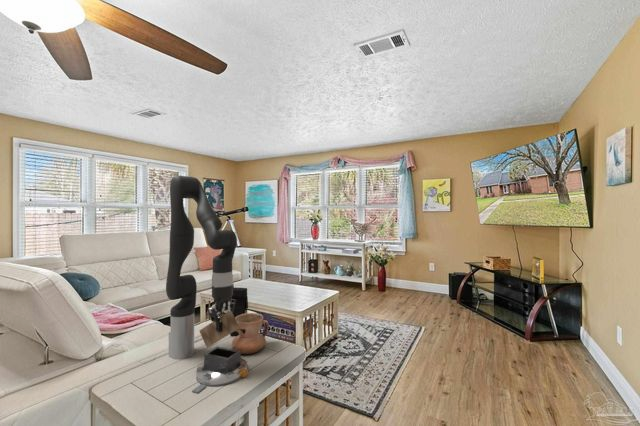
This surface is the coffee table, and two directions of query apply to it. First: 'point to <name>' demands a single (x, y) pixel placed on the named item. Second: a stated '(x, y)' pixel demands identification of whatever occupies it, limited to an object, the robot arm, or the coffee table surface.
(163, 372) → the coffee table surface
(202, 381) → the grey disc
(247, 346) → the ceramic jug
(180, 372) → the coffee table surface
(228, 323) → the brown wooden block
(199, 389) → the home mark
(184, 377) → the coffee table surface
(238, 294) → the portable radio
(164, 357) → the coffee table surface
